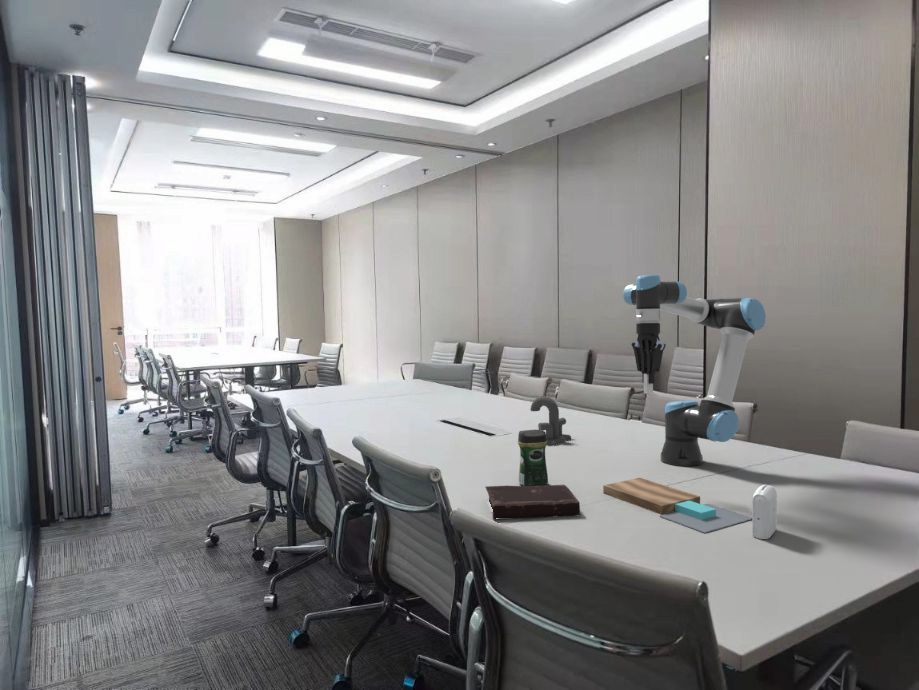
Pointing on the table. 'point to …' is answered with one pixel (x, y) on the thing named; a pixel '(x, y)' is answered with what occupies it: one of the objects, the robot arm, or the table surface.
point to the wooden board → (649, 494)
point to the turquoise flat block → (695, 510)
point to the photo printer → (764, 512)
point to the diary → (532, 501)
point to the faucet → (551, 420)
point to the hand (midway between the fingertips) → (648, 393)
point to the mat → (708, 520)
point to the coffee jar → (532, 458)
